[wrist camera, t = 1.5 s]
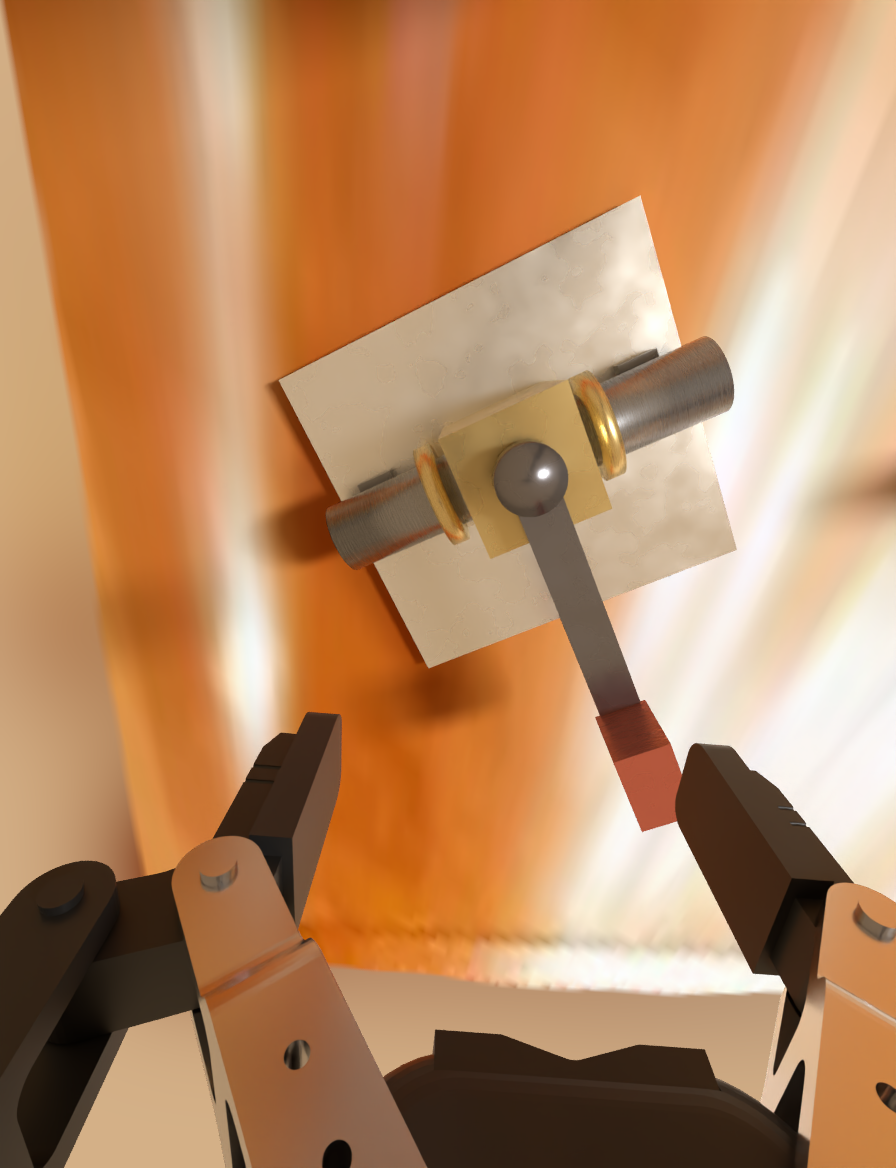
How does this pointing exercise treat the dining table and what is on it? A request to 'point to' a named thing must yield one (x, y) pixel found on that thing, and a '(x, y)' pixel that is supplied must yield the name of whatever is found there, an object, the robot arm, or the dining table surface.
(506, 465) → the lever
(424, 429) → the valve
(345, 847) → the dining table surface
